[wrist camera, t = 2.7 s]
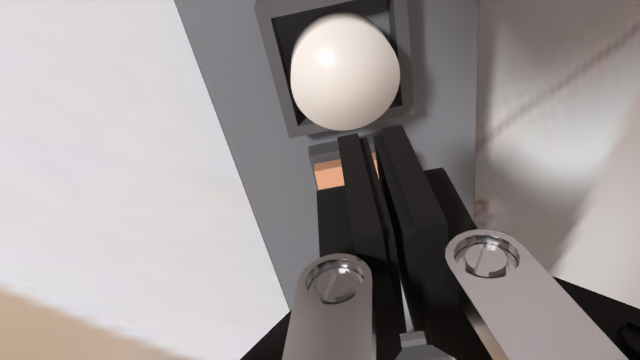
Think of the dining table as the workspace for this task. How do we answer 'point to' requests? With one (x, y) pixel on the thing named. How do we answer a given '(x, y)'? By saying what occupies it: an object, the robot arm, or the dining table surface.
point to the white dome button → (343, 71)
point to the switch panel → (319, 142)
